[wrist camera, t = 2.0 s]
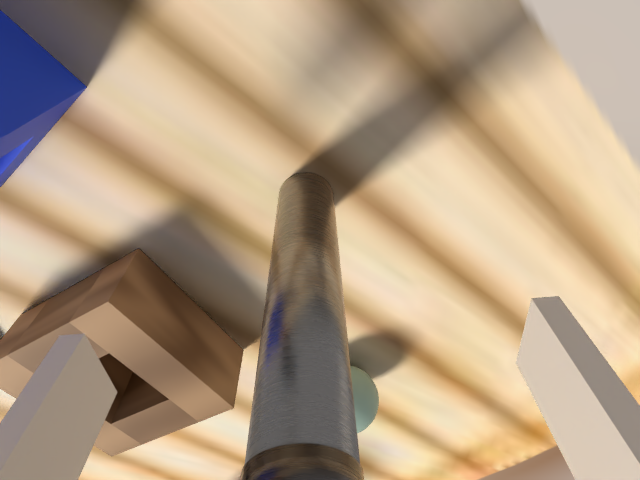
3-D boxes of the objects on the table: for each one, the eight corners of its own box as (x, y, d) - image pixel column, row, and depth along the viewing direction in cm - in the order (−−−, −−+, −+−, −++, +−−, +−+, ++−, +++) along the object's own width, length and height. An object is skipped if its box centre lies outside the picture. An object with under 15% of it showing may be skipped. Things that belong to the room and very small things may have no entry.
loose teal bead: (309, 353, 26) (309, 411, 23) (373, 348, 26) (382, 406, 23) (315, 393, 29) (316, 451, 25) (374, 389, 28) (383, 446, 25)
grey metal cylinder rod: (273, 174, 19) (210, 565, 7) (332, 169, 19) (373, 555, 7) (282, 223, 21) (242, 617, 9) (336, 219, 21) (376, 610, 8)
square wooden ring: (20, 315, 24) (-26, 372, 21) (138, 248, 22) (107, 301, 18) (134, 398, 28) (111, 456, 25) (243, 350, 26) (233, 408, 23)
